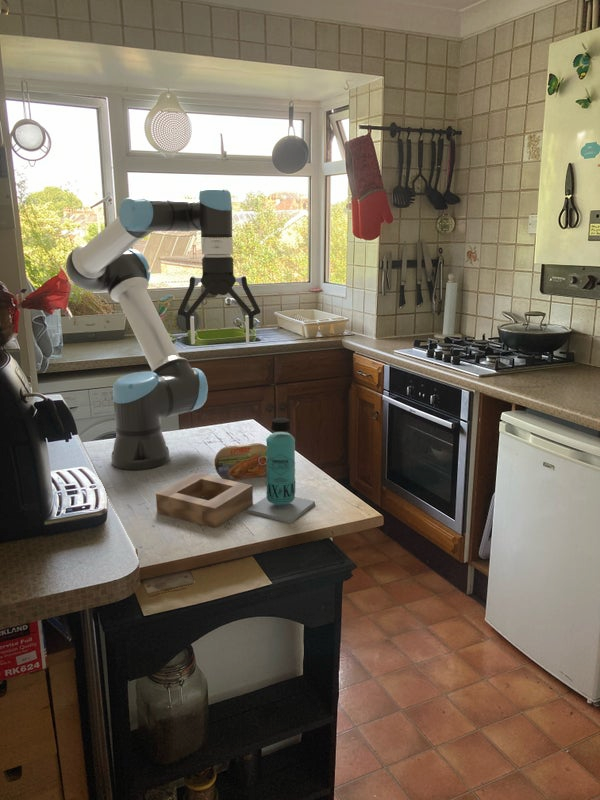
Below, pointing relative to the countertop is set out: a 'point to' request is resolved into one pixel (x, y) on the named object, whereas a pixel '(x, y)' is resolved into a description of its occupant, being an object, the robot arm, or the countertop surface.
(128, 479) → the countertop surface
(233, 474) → the tin
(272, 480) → the beverage bottle
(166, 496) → the walnut bottle holder
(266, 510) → the slate mat
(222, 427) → the countertop surface
